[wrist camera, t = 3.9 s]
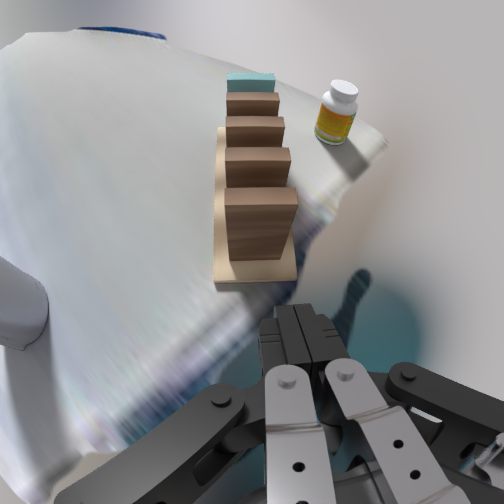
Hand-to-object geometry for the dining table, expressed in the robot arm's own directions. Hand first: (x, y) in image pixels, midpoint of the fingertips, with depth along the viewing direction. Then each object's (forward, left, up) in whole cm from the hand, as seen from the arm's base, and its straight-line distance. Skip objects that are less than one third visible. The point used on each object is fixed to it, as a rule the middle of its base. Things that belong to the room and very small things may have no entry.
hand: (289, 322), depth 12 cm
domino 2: (+21, +12, -17) cm, 30 cm away
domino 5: (+9, +5, -17) cm, 20 cm away
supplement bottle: (+34, +4, -18) cm, 39 cm away
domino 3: (+17, +10, -17) cm, 26 cm away
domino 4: (+13, +8, -17) cm, 23 cm away
